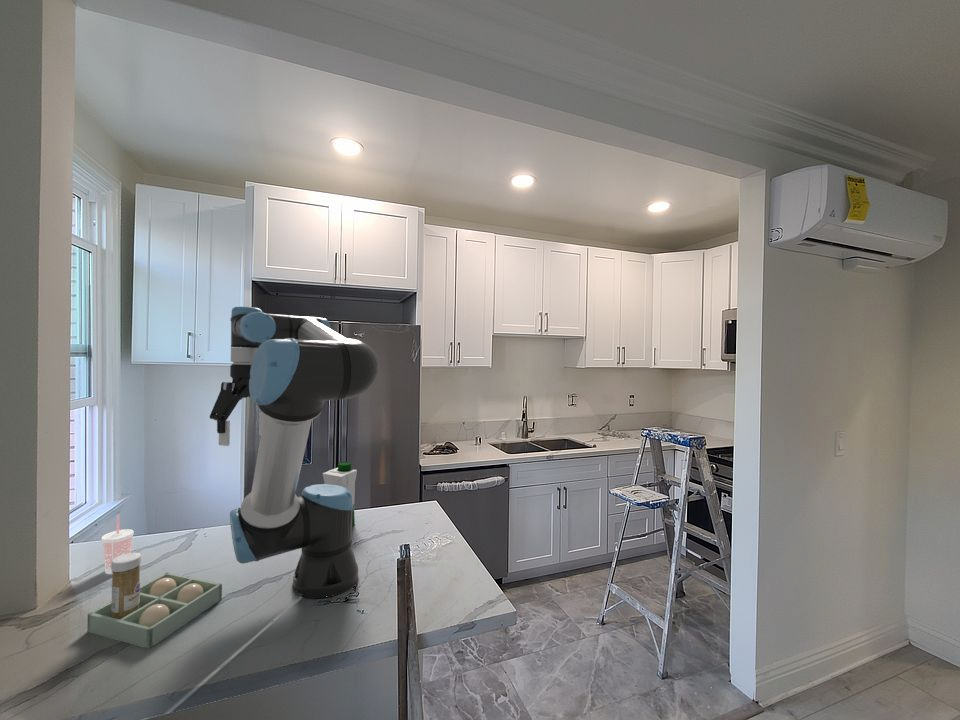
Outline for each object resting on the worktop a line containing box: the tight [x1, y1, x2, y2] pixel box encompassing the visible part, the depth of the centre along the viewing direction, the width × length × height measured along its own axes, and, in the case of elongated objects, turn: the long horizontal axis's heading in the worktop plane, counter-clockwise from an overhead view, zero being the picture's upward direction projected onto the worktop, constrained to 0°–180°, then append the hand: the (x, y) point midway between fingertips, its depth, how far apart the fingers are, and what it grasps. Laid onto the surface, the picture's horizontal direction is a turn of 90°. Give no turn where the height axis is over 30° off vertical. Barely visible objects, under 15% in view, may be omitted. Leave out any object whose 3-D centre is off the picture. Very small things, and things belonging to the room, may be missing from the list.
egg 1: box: [149, 578, 177, 597], centre depth 90 cm, size 5×5×5 cm
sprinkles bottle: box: [111, 552, 142, 620], centre depth 83 cm, size 5×5×13 cm
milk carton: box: [322, 461, 358, 526], centre depth 131 cm, size 9×9×20 cm
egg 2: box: [139, 604, 170, 627], centre depth 81 cm, size 5×5×5 cm
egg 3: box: [177, 583, 204, 603], centre depth 88 cm, size 5×5×5 cm
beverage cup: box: [101, 514, 135, 575], centre depth 103 cm, size 6×6×14 cm
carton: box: [86, 572, 223, 649], centre depth 86 cm, size 16×16×4 cm
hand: (245, 440), depth 112 cm, fingers open, 13 cm apart
